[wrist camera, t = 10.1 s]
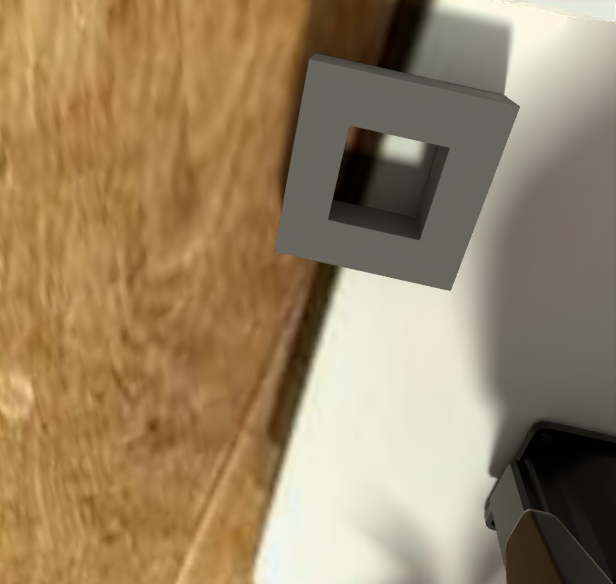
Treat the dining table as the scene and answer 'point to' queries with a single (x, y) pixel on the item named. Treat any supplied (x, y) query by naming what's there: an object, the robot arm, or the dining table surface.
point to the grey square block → (404, 123)
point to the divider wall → (572, 8)
